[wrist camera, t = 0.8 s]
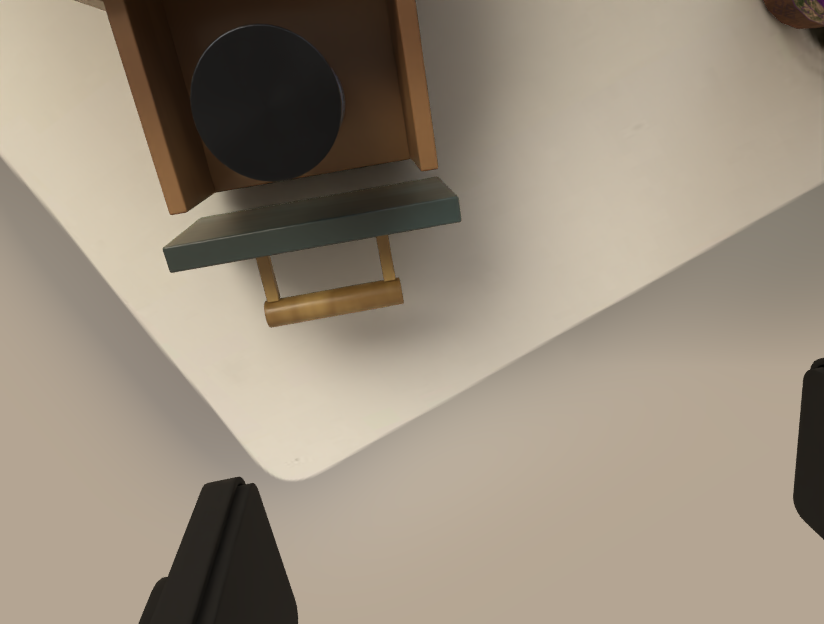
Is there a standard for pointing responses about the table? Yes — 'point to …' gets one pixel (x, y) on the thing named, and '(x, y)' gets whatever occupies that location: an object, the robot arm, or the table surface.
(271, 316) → the drawer
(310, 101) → the tin
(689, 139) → the table surface
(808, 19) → the mug
